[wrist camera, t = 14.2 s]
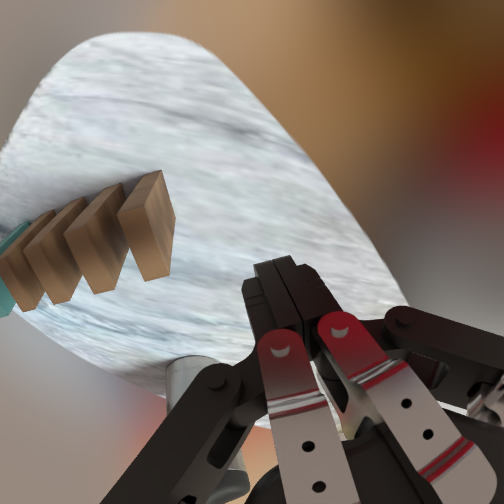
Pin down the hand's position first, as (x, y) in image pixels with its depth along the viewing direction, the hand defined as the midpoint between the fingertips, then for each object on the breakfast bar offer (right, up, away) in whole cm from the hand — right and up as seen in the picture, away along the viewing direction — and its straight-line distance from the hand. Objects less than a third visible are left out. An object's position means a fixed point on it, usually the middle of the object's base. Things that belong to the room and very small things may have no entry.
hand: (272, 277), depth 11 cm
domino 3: (-14, +5, +13) cm, 19 cm away
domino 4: (-10, +6, +13) cm, 17 cm away
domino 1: (-22, +3, +12) cm, 25 cm away
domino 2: (-18, +4, +12) cm, 22 cm away
